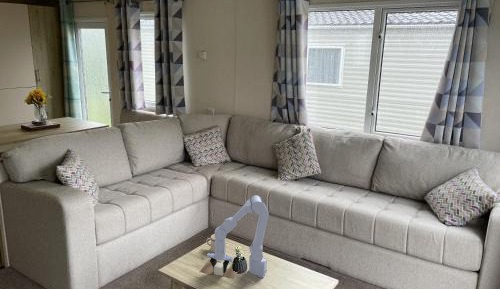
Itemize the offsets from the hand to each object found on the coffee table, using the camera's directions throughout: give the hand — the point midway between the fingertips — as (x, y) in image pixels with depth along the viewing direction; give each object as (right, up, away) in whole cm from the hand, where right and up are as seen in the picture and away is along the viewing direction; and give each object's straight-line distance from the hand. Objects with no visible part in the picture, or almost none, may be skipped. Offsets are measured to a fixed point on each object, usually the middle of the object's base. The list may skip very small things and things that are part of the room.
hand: (219, 271), depth 219 cm
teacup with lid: (-5, +5, +26) cm, 27 cm away
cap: (0, -1, 0) cm, 1 cm away
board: (0, -1, +4) cm, 5 cm away
